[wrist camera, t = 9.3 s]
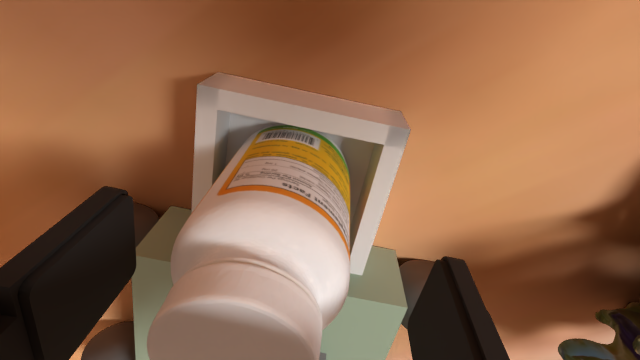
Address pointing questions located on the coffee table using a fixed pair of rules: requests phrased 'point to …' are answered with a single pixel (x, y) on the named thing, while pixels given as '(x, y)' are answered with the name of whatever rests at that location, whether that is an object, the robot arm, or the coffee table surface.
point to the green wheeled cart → (365, 213)
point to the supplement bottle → (261, 255)
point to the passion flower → (629, 343)
